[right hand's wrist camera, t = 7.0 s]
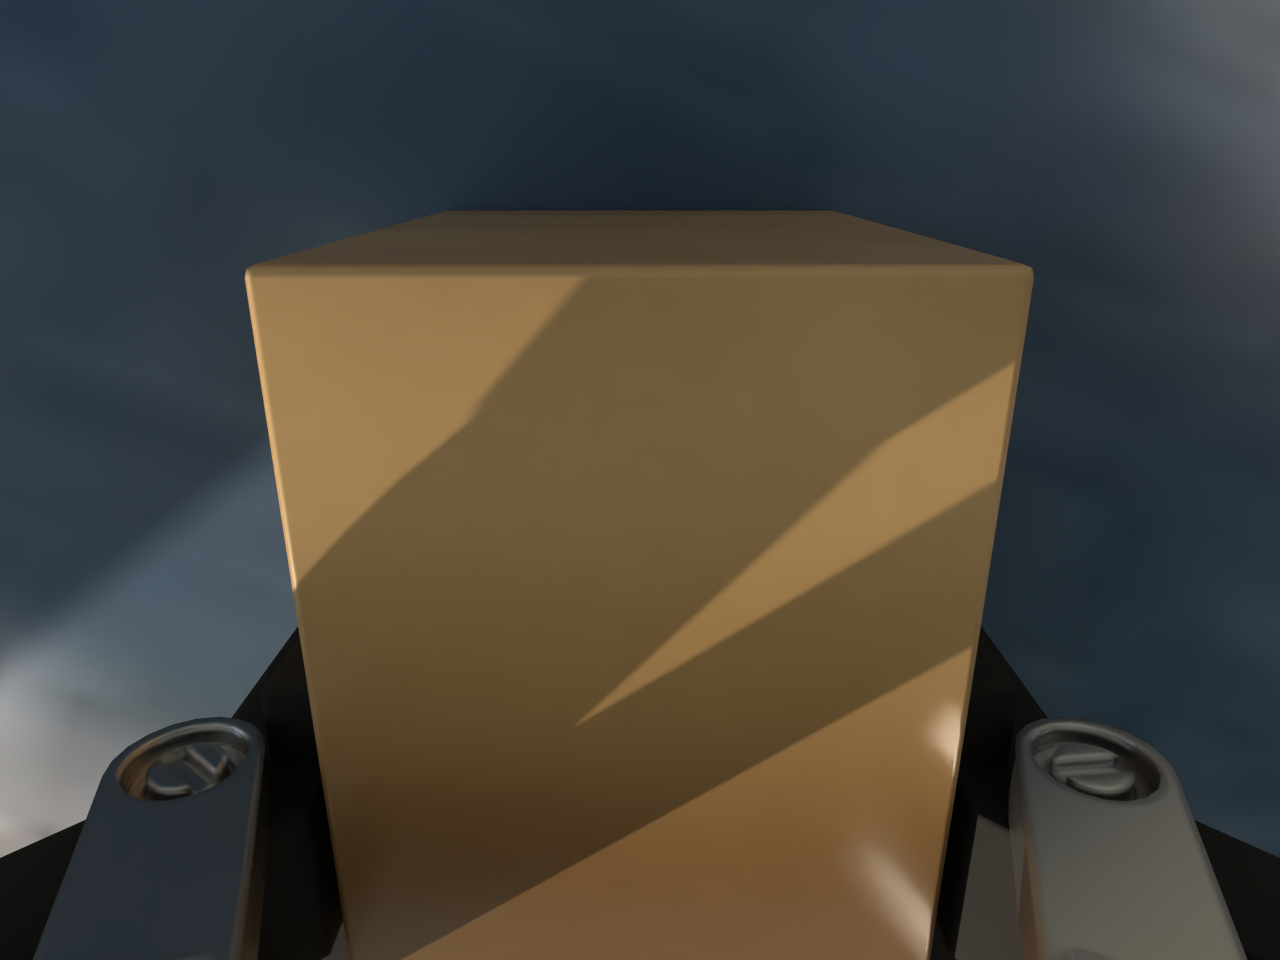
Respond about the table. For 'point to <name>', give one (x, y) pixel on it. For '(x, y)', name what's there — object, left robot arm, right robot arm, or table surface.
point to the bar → (639, 572)
